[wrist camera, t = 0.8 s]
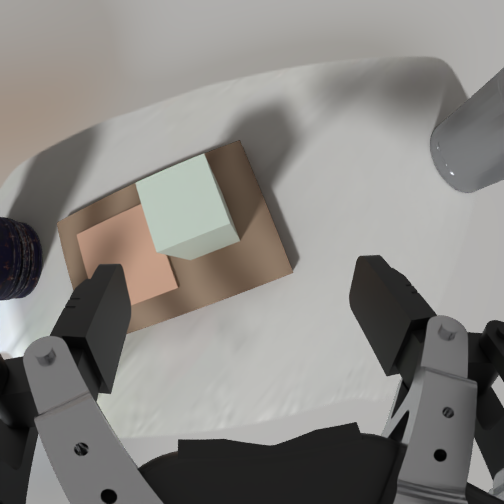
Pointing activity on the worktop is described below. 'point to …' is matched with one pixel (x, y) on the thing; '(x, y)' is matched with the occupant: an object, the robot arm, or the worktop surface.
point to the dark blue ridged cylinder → (18, 259)
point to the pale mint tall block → (186, 210)
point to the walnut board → (204, 267)
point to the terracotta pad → (128, 254)
